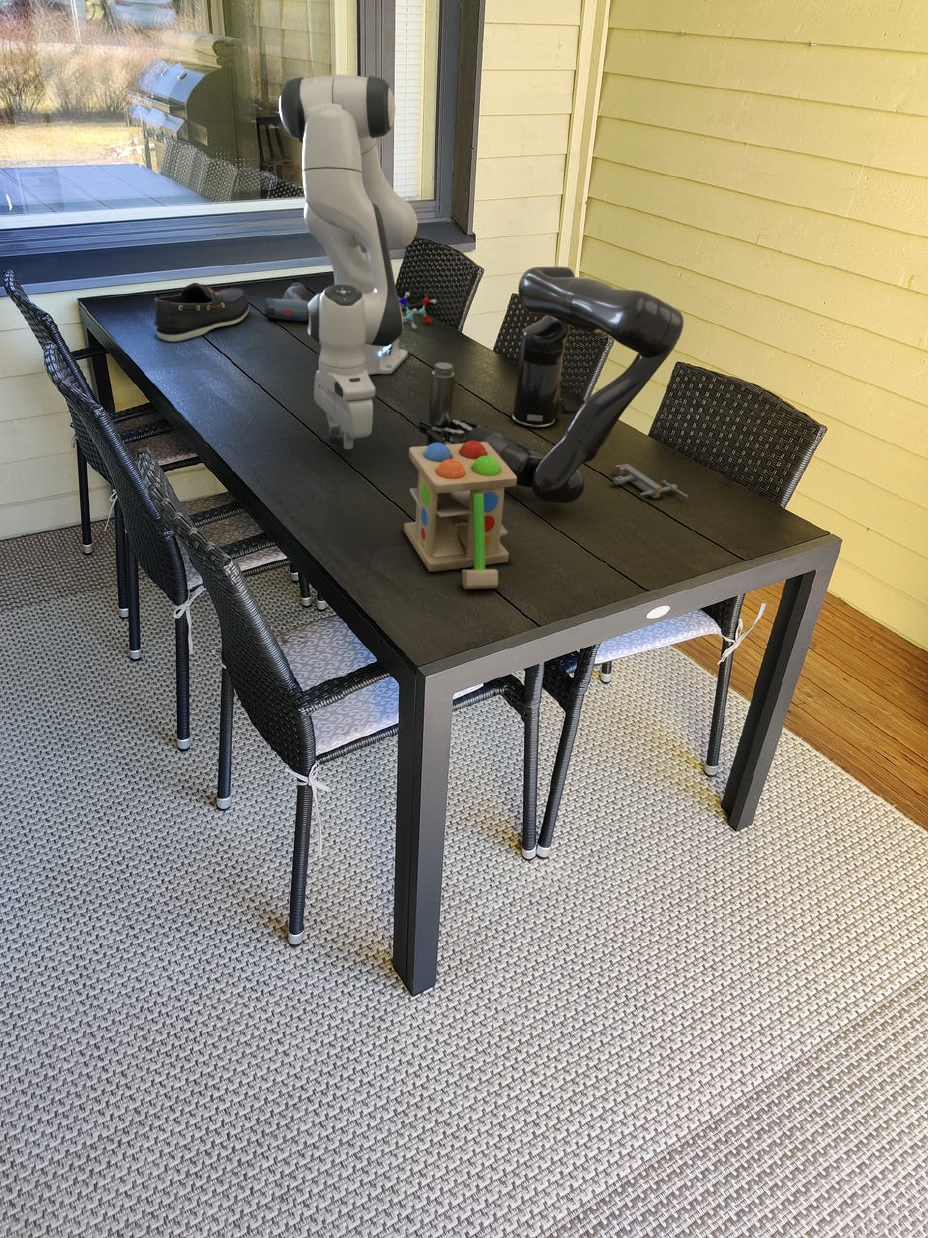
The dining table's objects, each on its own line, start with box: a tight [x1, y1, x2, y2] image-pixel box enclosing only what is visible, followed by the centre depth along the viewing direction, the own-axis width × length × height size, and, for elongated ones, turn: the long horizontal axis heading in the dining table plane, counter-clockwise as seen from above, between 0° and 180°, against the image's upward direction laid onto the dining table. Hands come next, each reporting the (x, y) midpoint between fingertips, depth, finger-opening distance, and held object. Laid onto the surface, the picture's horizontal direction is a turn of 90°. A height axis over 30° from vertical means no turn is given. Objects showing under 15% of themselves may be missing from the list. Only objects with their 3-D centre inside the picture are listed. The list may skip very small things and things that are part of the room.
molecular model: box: [398, 291, 437, 331], centre depth 264 cm, size 12×10×10 cm
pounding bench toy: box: [403, 441, 517, 590], centre depth 161 cm, size 23×14×18 cm, turn 20°
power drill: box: [264, 282, 310, 322], centre depth 265 cm, size 5×19×20 cm
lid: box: [328, 426, 345, 446], centre depth 195 cm, size 5×5×2 cm
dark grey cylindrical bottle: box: [426, 361, 455, 446], centre depth 194 cm, size 4×4×19 cm
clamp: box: [612, 463, 689, 500], centre depth 193 cm, size 15×2×10 cm
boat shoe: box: [153, 282, 250, 342], centre depth 250 cm, size 13×33×10 cm, turn 147°
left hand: (341, 441), depth 196 cm, fingers closed on lid, 5 cm apart
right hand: (429, 422), depth 197 cm, fingers closed on dark grey cylindrical bottle, 4 cm apart
